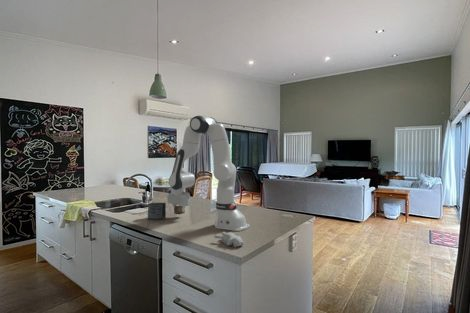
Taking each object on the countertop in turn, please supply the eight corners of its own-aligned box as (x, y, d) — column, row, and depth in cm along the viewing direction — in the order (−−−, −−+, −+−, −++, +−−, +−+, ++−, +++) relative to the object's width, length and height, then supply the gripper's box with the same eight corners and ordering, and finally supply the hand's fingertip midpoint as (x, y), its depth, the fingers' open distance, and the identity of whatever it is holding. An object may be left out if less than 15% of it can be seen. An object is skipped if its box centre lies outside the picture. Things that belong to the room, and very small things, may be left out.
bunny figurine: (235, 241, 125) (212, 231, 135) (234, 252, 126) (211, 241, 136) (247, 236, 133) (225, 227, 142) (246, 246, 133) (224, 236, 143)
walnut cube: (184, 213, 186) (184, 205, 186) (179, 214, 182) (179, 207, 182) (179, 212, 189) (179, 205, 189) (174, 213, 185) (174, 206, 185)
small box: (166, 217, 186) (166, 202, 186) (162, 219, 179) (162, 204, 179) (151, 217, 187) (151, 202, 187) (147, 219, 180) (147, 204, 180)
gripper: (192, 191, 182) (193, 211, 182) (172, 189, 194) (173, 208, 194) (186, 192, 177) (186, 213, 177) (165, 190, 189) (166, 210, 189)
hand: (179, 211), depth 186 cm, fingers closed on walnut cube, 5 cm apart
